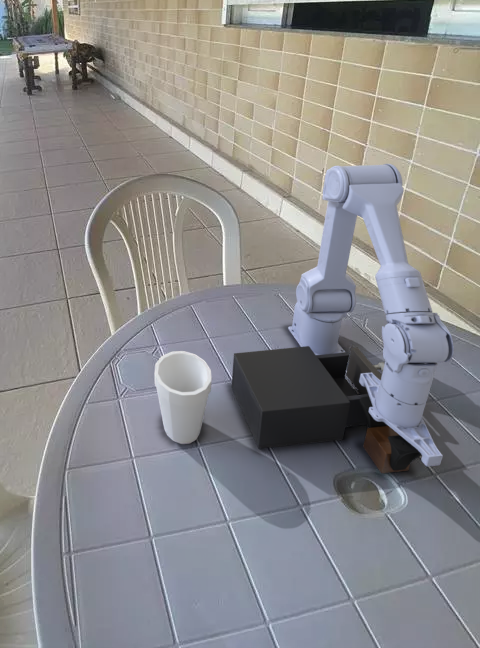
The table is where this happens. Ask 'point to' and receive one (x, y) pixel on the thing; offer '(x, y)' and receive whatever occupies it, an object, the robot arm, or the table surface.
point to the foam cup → (182, 394)
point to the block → (380, 447)
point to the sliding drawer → (351, 379)
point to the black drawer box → (288, 397)
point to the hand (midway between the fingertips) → (386, 452)
